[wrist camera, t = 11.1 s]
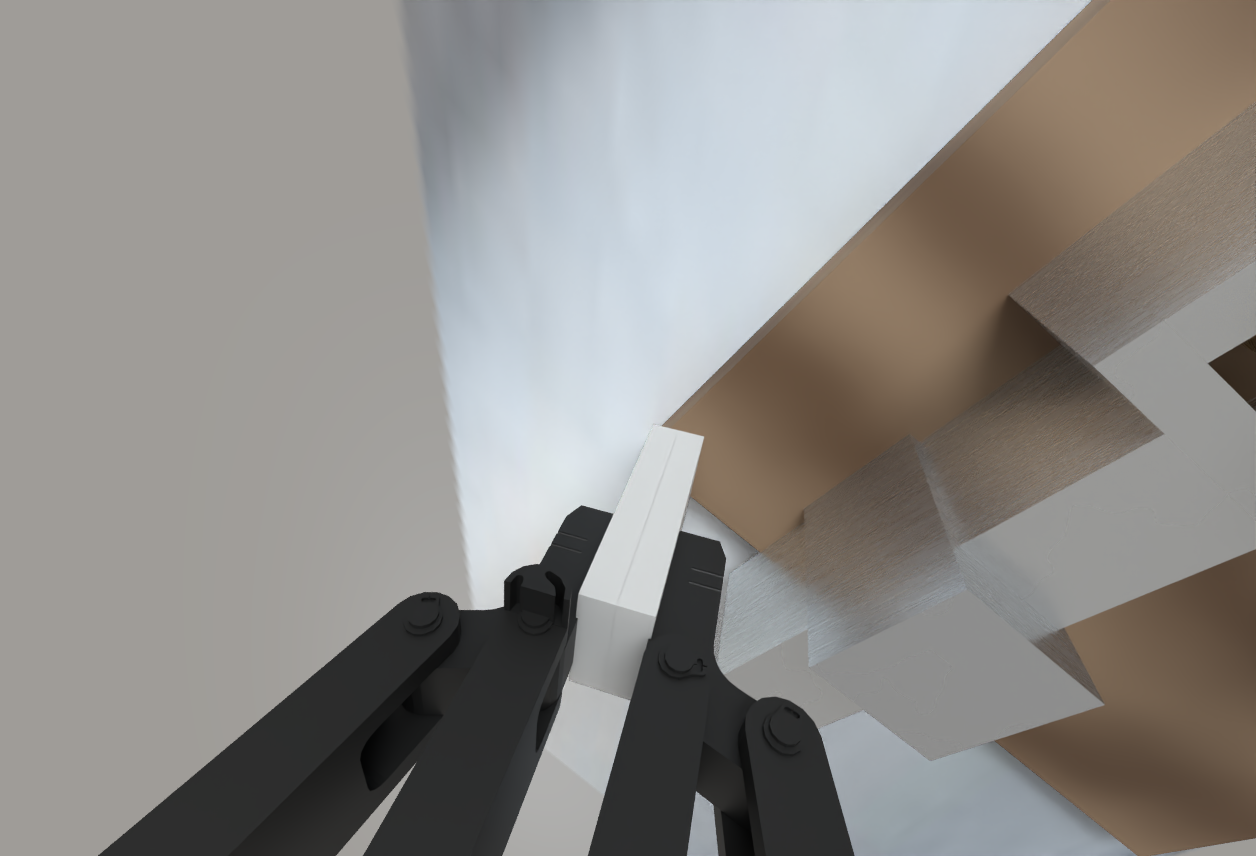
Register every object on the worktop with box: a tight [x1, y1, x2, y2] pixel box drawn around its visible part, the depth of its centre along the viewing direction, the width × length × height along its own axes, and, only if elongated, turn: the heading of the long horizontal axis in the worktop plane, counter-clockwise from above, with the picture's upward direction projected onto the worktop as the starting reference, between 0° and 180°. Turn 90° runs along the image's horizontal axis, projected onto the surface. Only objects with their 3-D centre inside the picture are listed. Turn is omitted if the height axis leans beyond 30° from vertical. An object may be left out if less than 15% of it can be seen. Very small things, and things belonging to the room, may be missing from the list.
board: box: [662, 0, 1256, 856], centre depth 15 cm, size 20×26×1 cm
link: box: [717, 101, 1256, 761], centre depth 12 cm, size 19×7×6 cm, turn 143°
